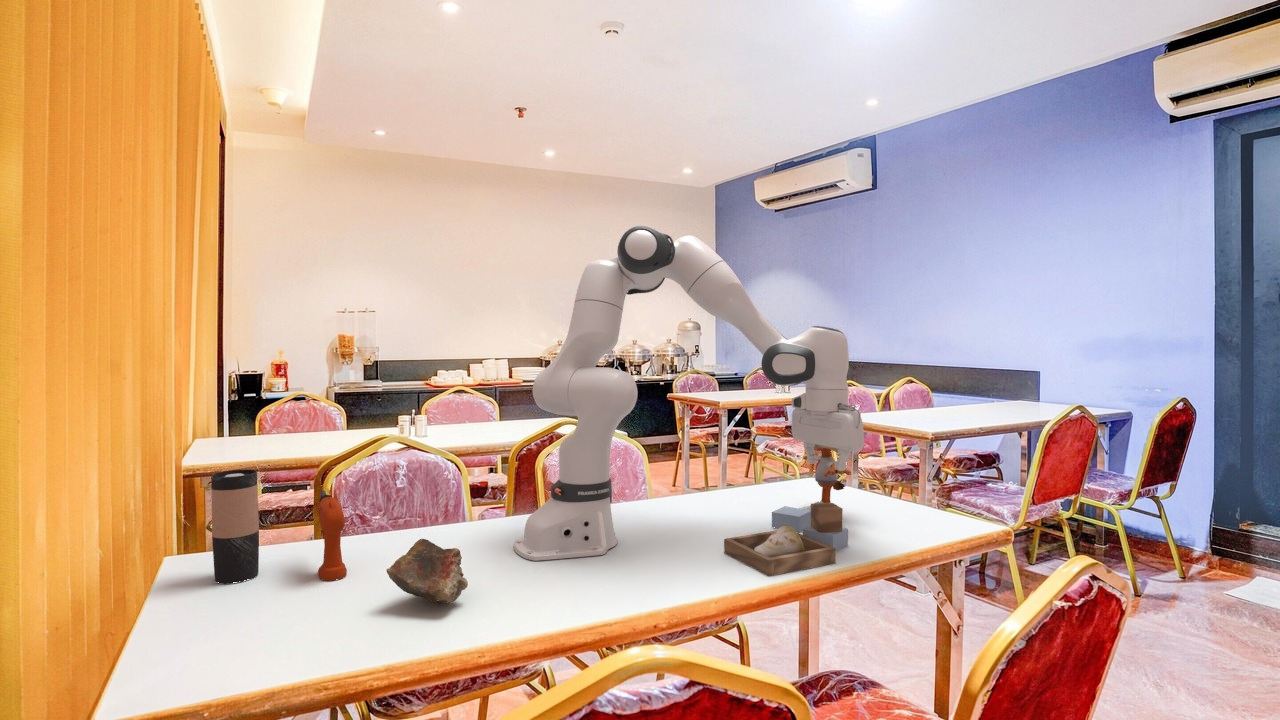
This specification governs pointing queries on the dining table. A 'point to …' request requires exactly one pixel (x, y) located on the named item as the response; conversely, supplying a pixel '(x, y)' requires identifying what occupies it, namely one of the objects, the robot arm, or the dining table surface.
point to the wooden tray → (811, 556)
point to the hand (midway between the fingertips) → (825, 466)
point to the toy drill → (331, 537)
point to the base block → (828, 537)
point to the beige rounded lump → (781, 543)
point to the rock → (429, 572)
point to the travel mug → (235, 525)
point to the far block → (791, 518)
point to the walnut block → (826, 517)
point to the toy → (826, 473)
